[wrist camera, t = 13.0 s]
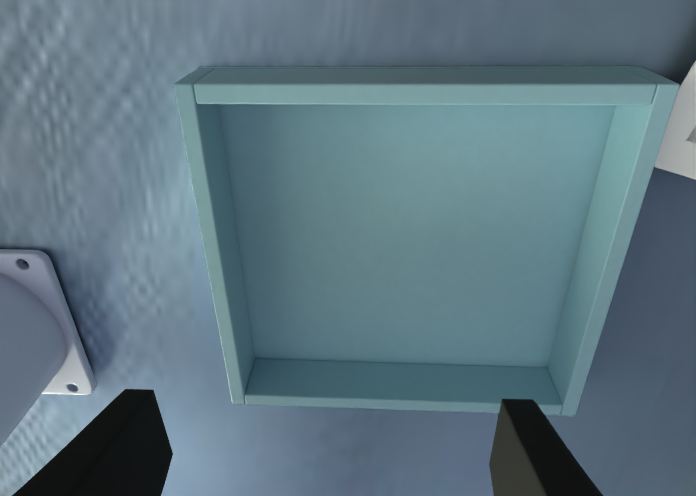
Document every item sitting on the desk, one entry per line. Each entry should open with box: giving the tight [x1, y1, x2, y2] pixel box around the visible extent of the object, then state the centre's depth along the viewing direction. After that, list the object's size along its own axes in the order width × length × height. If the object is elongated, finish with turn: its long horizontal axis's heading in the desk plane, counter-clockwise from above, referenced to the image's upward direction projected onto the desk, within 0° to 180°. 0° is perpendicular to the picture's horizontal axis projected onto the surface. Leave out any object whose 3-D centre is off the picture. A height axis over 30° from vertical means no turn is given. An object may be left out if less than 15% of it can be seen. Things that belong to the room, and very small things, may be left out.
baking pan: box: [174, 66, 680, 416], centre depth 19 cm, size 14×13×2 cm
